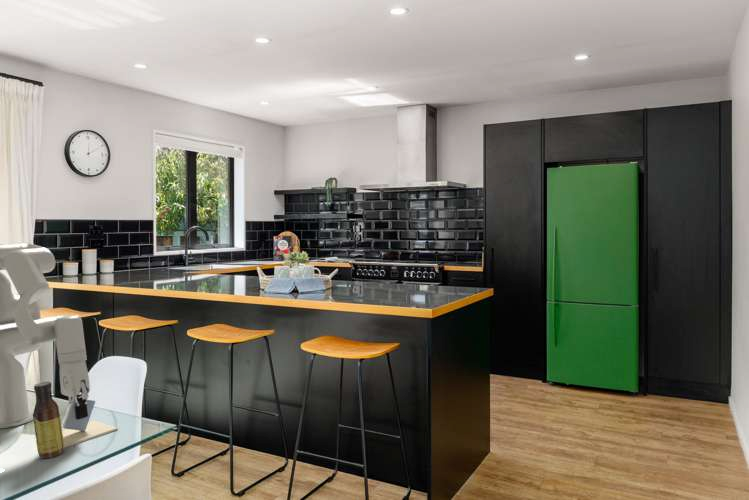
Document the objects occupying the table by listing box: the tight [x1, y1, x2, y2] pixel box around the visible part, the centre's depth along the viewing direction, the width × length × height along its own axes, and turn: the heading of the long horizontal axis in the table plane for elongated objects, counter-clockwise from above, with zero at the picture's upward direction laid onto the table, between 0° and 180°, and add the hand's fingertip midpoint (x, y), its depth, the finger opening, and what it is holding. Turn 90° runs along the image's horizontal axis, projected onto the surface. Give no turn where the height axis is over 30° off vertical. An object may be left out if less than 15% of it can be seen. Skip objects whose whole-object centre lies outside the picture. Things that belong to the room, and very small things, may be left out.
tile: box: [61, 397, 96, 431], centre depth 171 cm, size 2×9×6 cm
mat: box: [62, 420, 119, 449], centre depth 170 cm, size 16×16×1 cm
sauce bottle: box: [32, 381, 65, 459], centre depth 154 cm, size 6×6×20 cm
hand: (79, 416), depth 171 cm, fingers closed on tile, 2 cm apart
